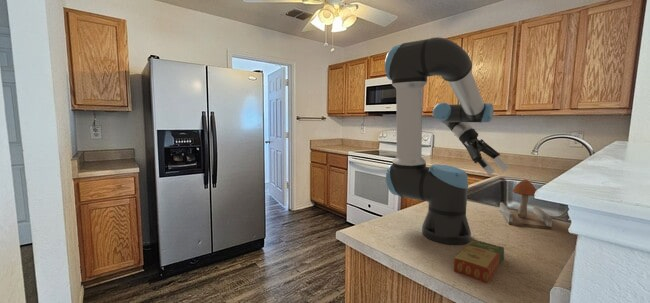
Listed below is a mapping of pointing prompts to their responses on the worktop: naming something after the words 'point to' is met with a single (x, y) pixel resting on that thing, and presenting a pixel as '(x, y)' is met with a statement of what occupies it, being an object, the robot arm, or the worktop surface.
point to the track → (527, 218)
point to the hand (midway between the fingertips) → (499, 171)
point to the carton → (479, 260)
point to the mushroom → (524, 196)
